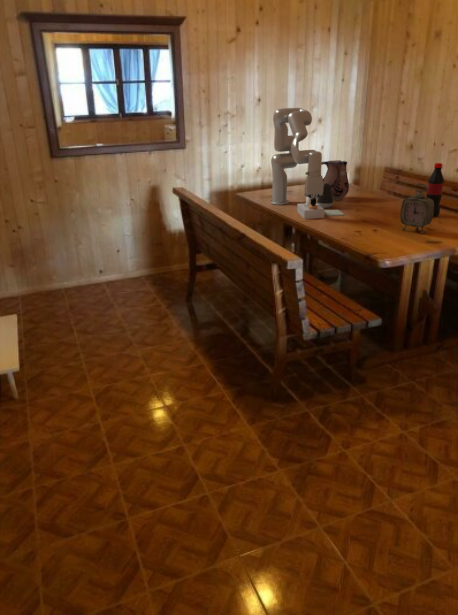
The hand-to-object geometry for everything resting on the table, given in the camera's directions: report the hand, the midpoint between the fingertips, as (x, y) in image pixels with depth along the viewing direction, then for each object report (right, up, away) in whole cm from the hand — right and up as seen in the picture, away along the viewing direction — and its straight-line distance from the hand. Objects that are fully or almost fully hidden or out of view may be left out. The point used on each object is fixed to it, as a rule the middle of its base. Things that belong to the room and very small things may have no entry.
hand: (313, 205), depth 298 cm
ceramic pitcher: (+20, +13, +45) cm, 51 cm away
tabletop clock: (+49, -20, -30) cm, 61 cm away
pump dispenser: (+12, +4, +24) cm, 27 cm away
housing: (0, -4, +8) cm, 9 cm away
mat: (+14, -3, +9) cm, 16 cm away
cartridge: (-1, -3, +10) cm, 11 cm away
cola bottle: (+69, -7, -2) cm, 69 cm away
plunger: (0, -5, +3) cm, 6 cm away
